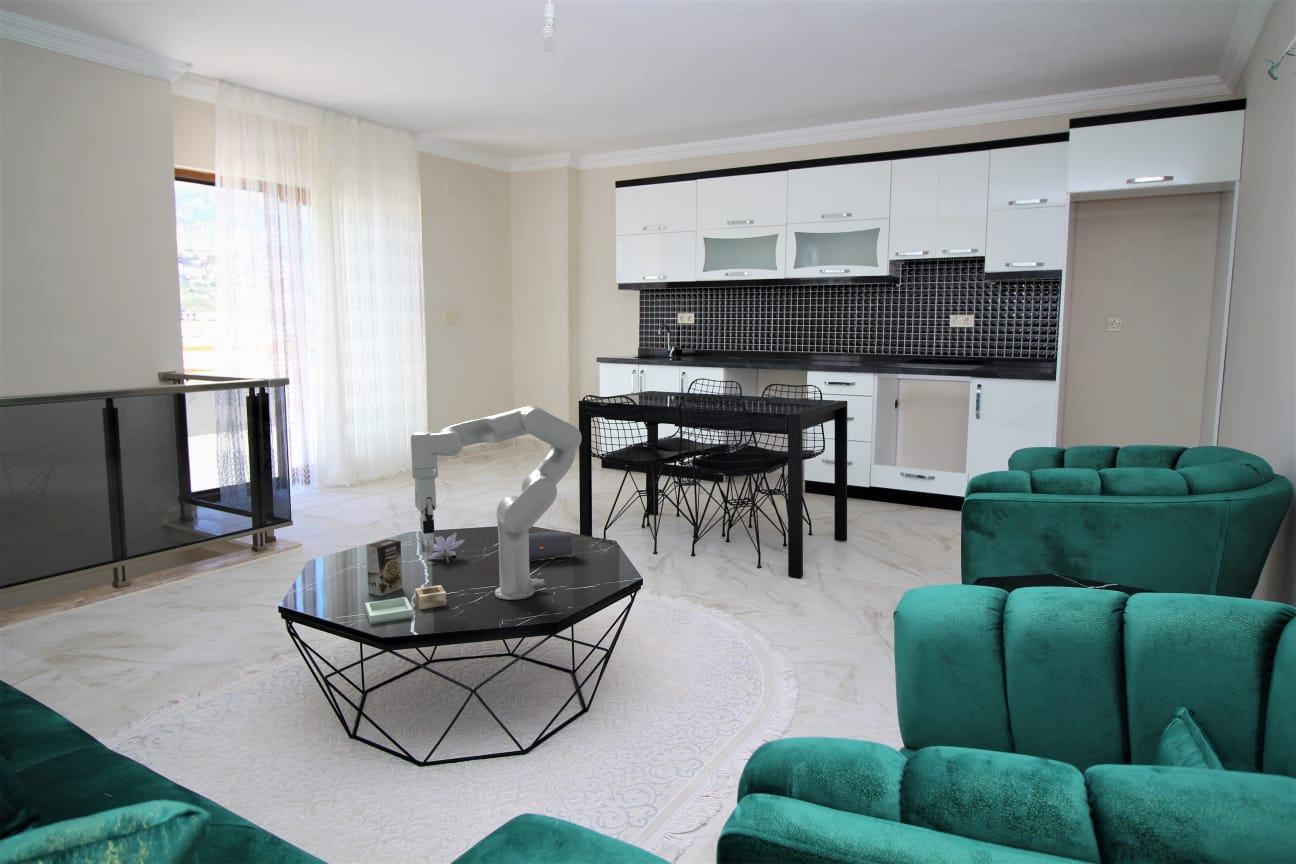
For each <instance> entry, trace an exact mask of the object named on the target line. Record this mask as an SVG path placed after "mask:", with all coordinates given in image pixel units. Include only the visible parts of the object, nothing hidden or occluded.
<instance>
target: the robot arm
mask: <svg viewBox="0 0 1296 864" xmlns="http://www.w3.org/2000/svg"><path fill="white" fill-rule="evenodd" d="M526 435H531V436H533V437H535V438H537V439H538V440H540V441H542V442H544V443H546V444H549V445H550V447H549V451H548V453H547V454H546V455H545V456H544V458H543V460H541V462H539V464H538V465H537V466H536V467H535V468H534V469H533V470H532V471H531V472H530V473H529V474H528V475H527V476H526V477H525V478H524V479H523V481H522V484H521V491H522V493H521V494H520V495H519V496H514V495H509V496H506V497H504V498H503V499H501V500H500V502H499V504H498V505H497V507H496V524H497V533H498V535H497V536H498V569H499V570H498V572H499V587H497V588H496V589H495V591H494V595H495V596H496V598H498V599H501V600H507V601H508V600H510V601H512V600H513V601H516V600H522V599H527V598H530V597H532V596H533V595H534V594H535V592H536V590H535V588H536V587H537V586H544V585H545V579H544V578H542V579H539V578H537V577H536V578H531V576H530V561H529V529H531V528H532V527H533V526H534V525H535V524H536V523H537V522H538V520H540V518H541V517H543V516H544V514H545V513H546V512H547V511H548V510H549V509H550V508H551V506H552V505H554V503H555V501H556V498H557V495H558V487H557V485H558V484H559V482H560V481H561V480H562V479H563V478H564V477H565V475H567V473H568V472H569V471H570V469H571V467H572V465H573V464H574V461H575V457H576V450H577V449H578V448H579V447H580V445H581V443H582V433H581V431H580V430H579V429H578V428H577V427H576V426H575V425H573V424H572V423H570V422H567V421H565V420H563V419H561V418H558V417H557V416H554V415H553V414H551V413H549V412H548V411H545V410H544V409H543V408H540V407H538V406H537V405H526V406H523V407H519V408H515V409H512V410H509V411H505V412H502V413H497V414H494V415H490V416H485V417H482V418H479V419H478V418H477V419H473V420H469V421H464V422H461V423H457V424H453V425H450V426H447V427H444V428H442V429H441V430H439V431H438V433H435V432H433V431H428V430H427V431H415V432H413V433H412V434H411V435H410V449H411V450H410V451H411V452H410V453H411V474H412V479H413V480H414V506H415V507H416V509H417V511H418V512H420V514H421V512H423V514H424V521H423V533H424V534H427V533H434V534H435V520H434V511H435V510H436V509H437V494H436V481H435V479H436V478H437V479H438V477H439V468H438V467H439V466H438V456H442V457H443V456H445V457H454V456H457V455H459V454H460V453H461V452H462V450H463V449H464V447H467V446H470V445H475V444H482V443H483V444H484V443H485V444H486V443H489V444H495V443H502V442H505V441H509V440H512V439H515V438H519V437H521V436H526ZM427 512H428V513H427ZM419 518H420V520H419V521H420V522H421V516H420V517H419Z"/></svg>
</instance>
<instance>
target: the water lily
mask: <svg viewBox="0 0 1296 864" xmlns="http://www.w3.org/2000/svg"><path fill="white" fill-rule="evenodd" d="M457 536H458V535H457V532H453V534H451V535H450V536H448V537H447V538H446V540H445V538H444V537H443V536H442V535H439V536H434V541H435V542H436V543H434V551H433V552H432V554H431V555H430V556H429V557H427V561H428V560H429V561H430V560H433V559H436V558H438V557H441V556H442V555H443V554H444V555H445V558H446V562H447V564H448V563H450V560H449V557H448V556H452V557H453V556H456V554H457V553H456V552H455V551H453V550H454V549H456V548H458V547H459V546H461V545H462V544H463V543H464V542H465V541H466V539H460V540H457V541H456V538H457Z"/></svg>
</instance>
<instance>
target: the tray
mask: <svg viewBox="0 0 1296 864" xmlns="http://www.w3.org/2000/svg"><path fill="white" fill-rule="evenodd" d="M364 605H365V606H364V607H365V613H366V615H367V619H368V621H369V625H375V624H376V625H377V624H381V623H388V622H394V621H399V620H407V619H412V618H414V609H413V607H412V605H411V603H410V602H409V600H408V598H407V596H402V597H397V598H391V599H383V600H376V601H368V602H365V603H364Z"/></svg>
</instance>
